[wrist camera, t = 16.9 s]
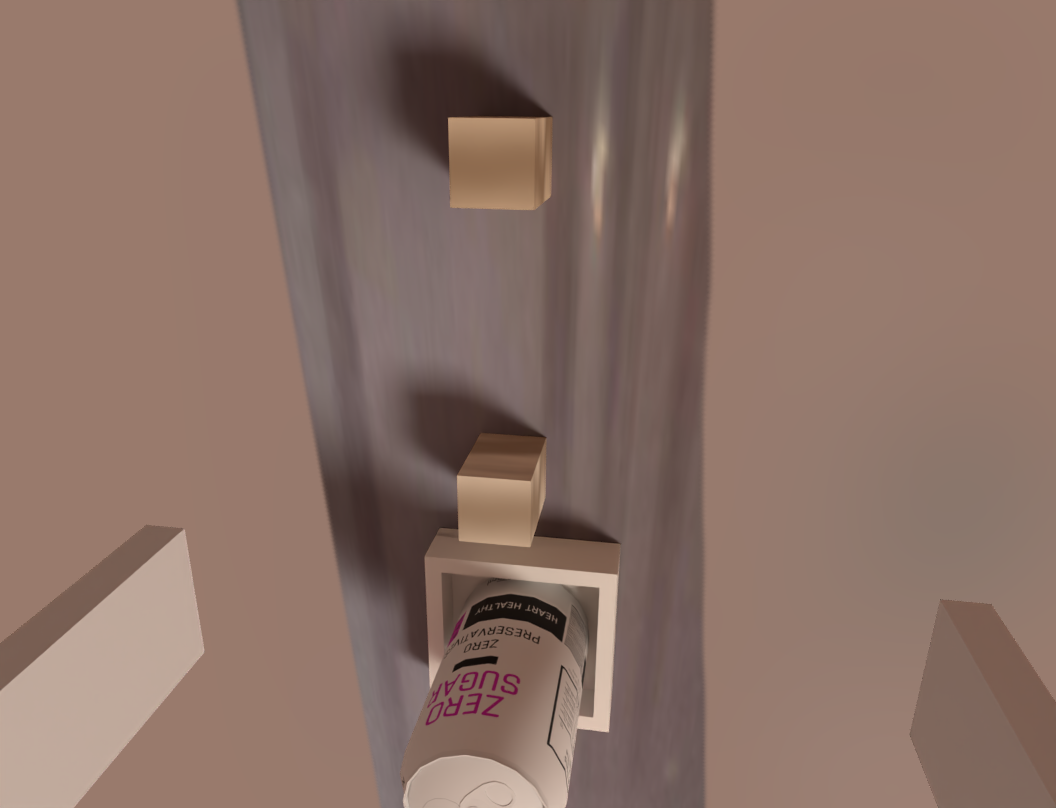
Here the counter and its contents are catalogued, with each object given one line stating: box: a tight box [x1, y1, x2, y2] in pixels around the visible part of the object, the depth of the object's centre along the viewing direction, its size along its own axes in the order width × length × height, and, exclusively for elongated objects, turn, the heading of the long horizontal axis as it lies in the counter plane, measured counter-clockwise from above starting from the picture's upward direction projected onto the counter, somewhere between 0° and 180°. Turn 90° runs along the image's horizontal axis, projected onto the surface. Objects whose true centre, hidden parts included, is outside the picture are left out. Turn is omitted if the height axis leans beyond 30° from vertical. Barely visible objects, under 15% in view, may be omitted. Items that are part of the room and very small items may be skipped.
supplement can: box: [400, 577, 589, 808], centre depth 44 cm, size 8×8×15 cm
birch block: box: [457, 433, 546, 547], centre depth 46 cm, size 4×4×6 cm
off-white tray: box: [425, 528, 621, 732], centre depth 50 cm, size 12×12×4 cm
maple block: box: [448, 116, 552, 210], centre depth 39 cm, size 4×4×6 cm
